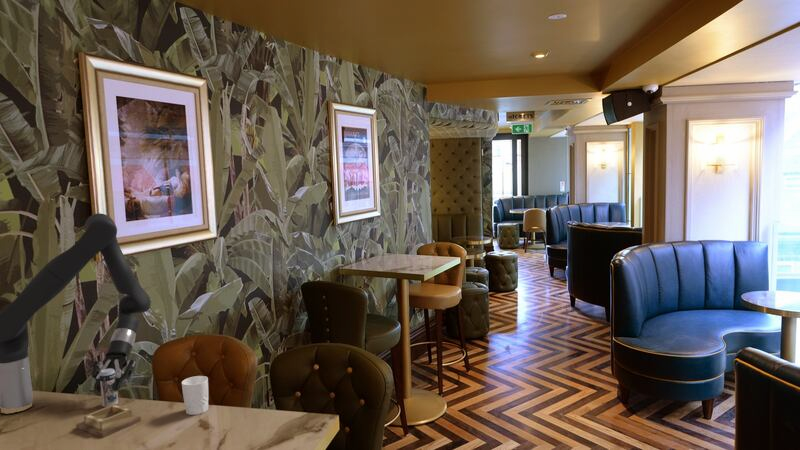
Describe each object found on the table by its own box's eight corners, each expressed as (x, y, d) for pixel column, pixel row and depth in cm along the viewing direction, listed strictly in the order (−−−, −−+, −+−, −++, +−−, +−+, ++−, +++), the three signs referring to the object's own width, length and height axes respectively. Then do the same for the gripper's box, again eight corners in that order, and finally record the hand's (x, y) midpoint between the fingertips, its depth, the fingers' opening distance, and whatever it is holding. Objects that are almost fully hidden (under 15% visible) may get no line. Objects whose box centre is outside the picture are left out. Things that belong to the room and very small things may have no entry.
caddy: (76, 428, 167) (75, 416, 167) (114, 412, 177) (113, 401, 177) (103, 437, 160) (102, 425, 159) (140, 420, 170) (139, 409, 170)
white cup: (182, 417, 171) (180, 386, 170) (185, 407, 179) (183, 377, 178) (209, 413, 173) (206, 382, 172) (211, 403, 181) (208, 374, 180)
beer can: (106, 409, 180) (103, 373, 179) (99, 406, 183) (96, 371, 182) (121, 404, 184) (118, 369, 183) (114, 401, 187) (111, 366, 186)
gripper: (96, 340, 189) (78, 387, 178) (137, 338, 189) (122, 385, 178) (106, 350, 195) (89, 396, 184) (146, 348, 195) (132, 394, 184)
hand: (106, 390), depth 181 cm, fingers open, 5 cm apart
